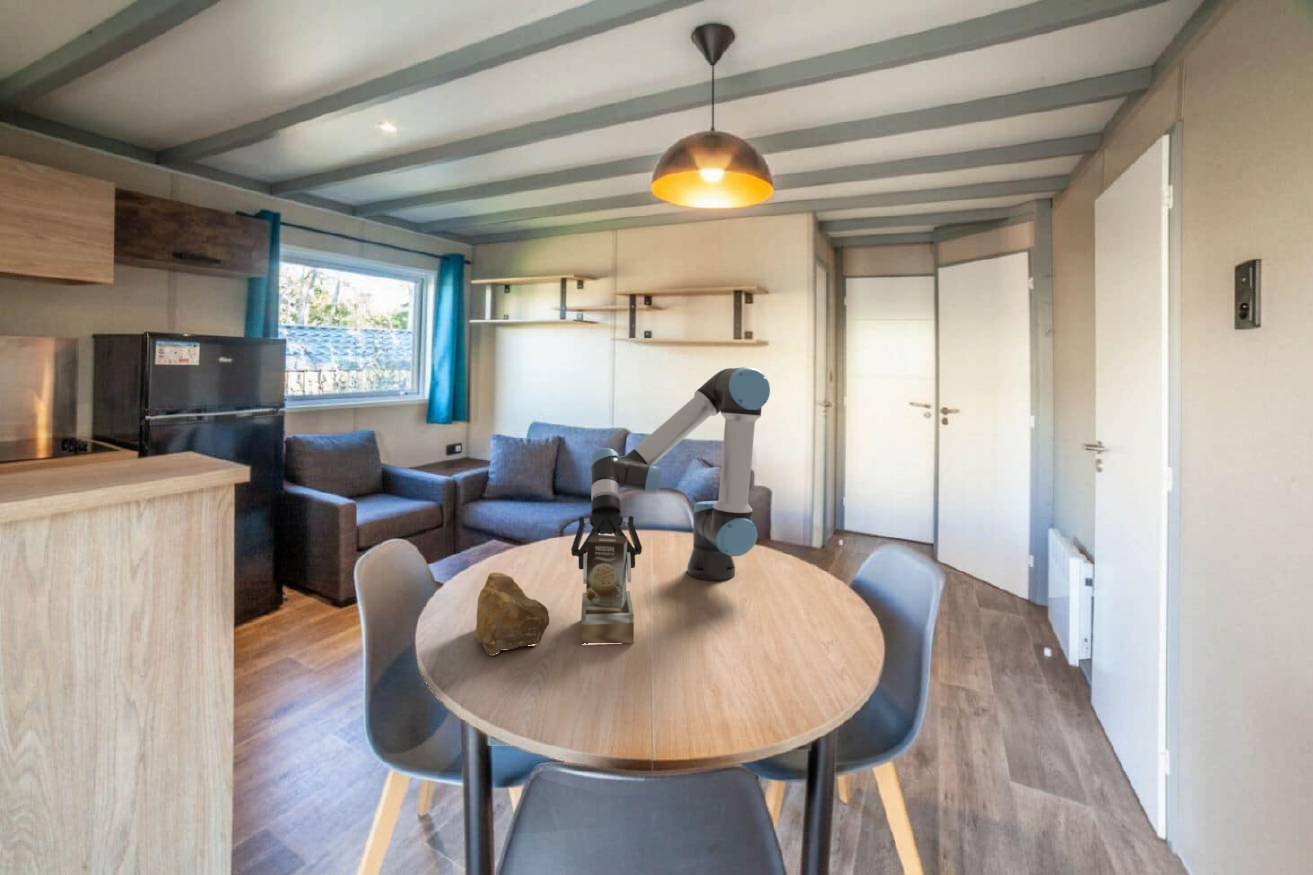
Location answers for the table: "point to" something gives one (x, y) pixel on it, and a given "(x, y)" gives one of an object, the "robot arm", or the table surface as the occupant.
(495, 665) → the table surface
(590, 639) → the open wooden box
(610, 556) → the coffee box
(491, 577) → the rough brown rock
